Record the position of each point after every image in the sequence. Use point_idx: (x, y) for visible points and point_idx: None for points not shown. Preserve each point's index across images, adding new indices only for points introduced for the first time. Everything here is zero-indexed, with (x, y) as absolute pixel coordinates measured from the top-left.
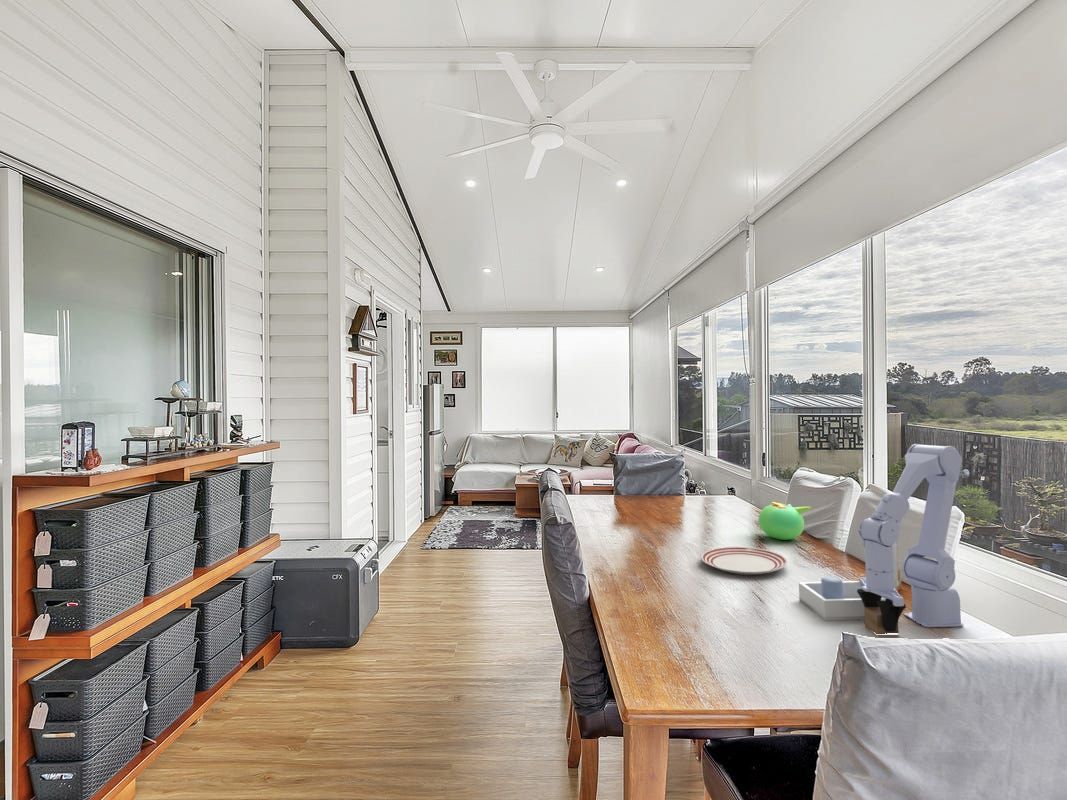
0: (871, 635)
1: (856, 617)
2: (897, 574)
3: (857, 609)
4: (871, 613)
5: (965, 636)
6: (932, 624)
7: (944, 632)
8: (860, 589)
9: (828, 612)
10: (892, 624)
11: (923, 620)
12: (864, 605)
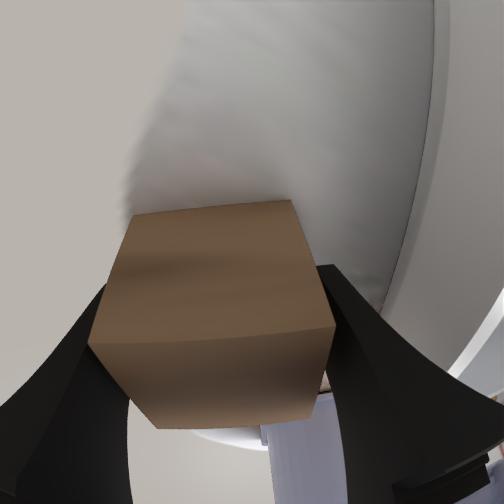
0: (133, 179)
1: (419, 214)
2: None
3: (446, 259)
4: (185, 323)
5: (198, 431)
6: None
7: None
8: (491, 449)
9: (476, 11)
10: None
11: None
12: (387, 334)
